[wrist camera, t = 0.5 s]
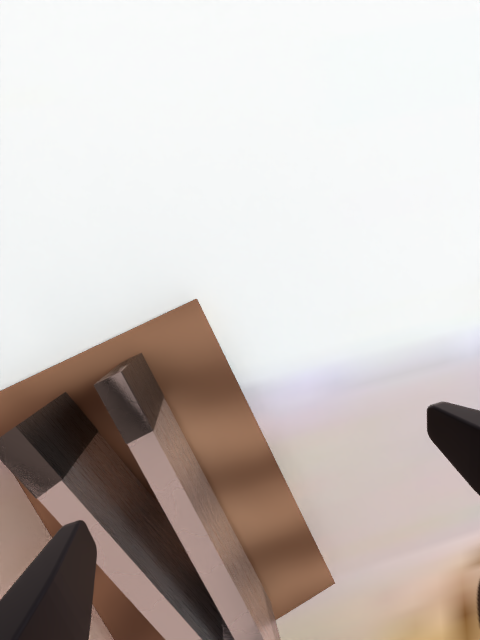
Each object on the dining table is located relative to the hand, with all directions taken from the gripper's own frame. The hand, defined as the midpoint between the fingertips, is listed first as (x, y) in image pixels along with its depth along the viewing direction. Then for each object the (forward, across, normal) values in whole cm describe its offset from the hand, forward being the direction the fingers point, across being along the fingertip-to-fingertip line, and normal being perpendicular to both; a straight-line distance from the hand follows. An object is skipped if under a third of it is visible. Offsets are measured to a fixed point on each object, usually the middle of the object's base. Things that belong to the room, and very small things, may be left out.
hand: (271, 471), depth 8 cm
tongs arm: (+10, +7, +9) cm, 15 cm away
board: (+11, +5, +10) cm, 16 cm away
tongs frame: (+10, +4, +9) cm, 14 cm away
